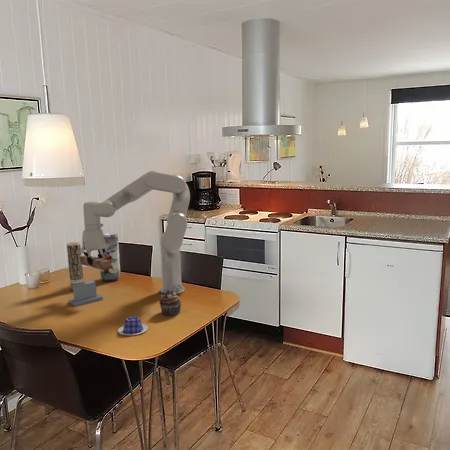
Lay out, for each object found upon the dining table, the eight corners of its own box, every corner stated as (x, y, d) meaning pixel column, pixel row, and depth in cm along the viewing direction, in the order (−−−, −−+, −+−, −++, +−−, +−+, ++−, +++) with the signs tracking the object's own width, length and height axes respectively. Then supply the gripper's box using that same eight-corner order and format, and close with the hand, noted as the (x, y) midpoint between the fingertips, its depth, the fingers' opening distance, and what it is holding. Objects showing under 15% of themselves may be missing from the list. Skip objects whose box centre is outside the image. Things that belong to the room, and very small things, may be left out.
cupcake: (175, 317, 188) (174, 295, 186) (156, 315, 191) (155, 293, 190) (185, 310, 197) (184, 289, 195) (166, 307, 200) (165, 287, 198)
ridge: (102, 299, 214) (101, 282, 212) (75, 306, 205) (73, 288, 203) (95, 295, 220) (94, 278, 218) (68, 302, 211) (67, 284, 209)
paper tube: (80, 291, 228) (75, 244, 224) (68, 290, 229) (64, 244, 225) (86, 287, 235) (82, 242, 230) (75, 286, 236) (71, 241, 232)
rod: (110, 268, 209) (110, 260, 209) (103, 270, 206) (103, 262, 206) (87, 262, 222) (86, 254, 221) (80, 264, 219) (79, 256, 218)
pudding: (150, 324, 182) (149, 312, 181) (145, 336, 170) (144, 324, 169) (121, 325, 182) (121, 313, 181) (114, 337, 170) (113, 324, 169)
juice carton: (102, 277, 252) (99, 232, 247) (121, 276, 253) (118, 231, 248) (100, 282, 243) (96, 235, 238) (119, 281, 244) (116, 234, 239)
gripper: (105, 224, 219) (107, 259, 222) (72, 228, 208) (75, 265, 211) (112, 226, 213) (114, 262, 216) (78, 230, 202) (81, 268, 205)
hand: (95, 263), depth 214 cm, fingers closed on rod, 4 cm apart
